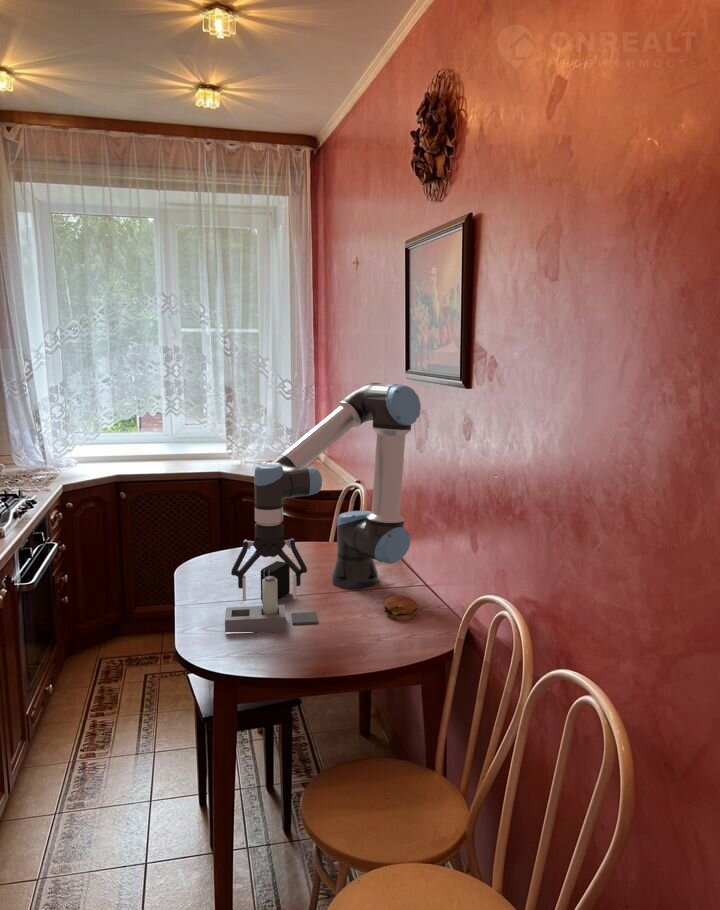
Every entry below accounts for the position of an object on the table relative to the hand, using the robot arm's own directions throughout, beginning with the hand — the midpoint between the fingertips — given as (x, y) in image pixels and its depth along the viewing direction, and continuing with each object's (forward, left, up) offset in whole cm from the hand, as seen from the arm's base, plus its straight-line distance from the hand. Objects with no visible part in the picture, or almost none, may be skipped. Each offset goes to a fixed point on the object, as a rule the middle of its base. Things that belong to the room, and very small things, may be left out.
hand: (269, 598), depth 184 cm
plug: (0, 0, -8) cm, 8 cm away
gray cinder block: (+4, 0, -8) cm, 9 cm away
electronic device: (-2, -21, -8) cm, 23 cm away
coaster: (-10, -3, -8) cm, 13 cm away
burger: (-37, -3, -8) cm, 38 cm away
